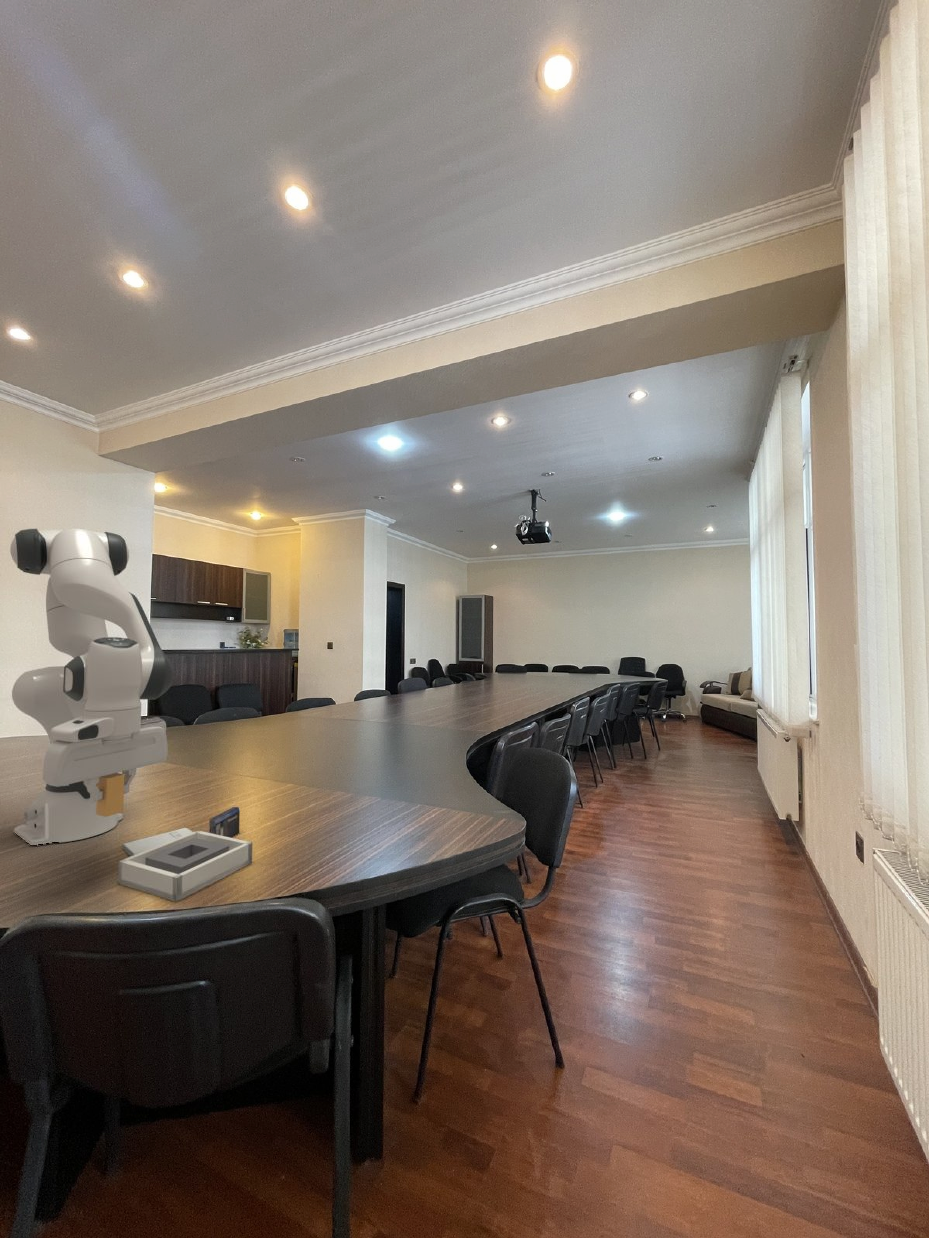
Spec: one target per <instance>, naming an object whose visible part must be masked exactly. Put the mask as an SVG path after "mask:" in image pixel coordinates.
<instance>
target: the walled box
mask: <svg viewBox="0 0 929 1238" xmlns="http://www.w3.org/2000/svg"><path fill="white" fill-rule="evenodd" d="M250 864H251V865H252V864H253V842H252V841H248V840H244V839H238V838H235V837H232V838H230V837H225V836H221V835H216V834H212V833H209V832H207V831H201V830H195V831H192V833H190V834H187V835H185V836H182V837H180V838H177V839H174V840H172V841H169V842H167V843H164V844H162V845H159V846H157V847H154V848H152V849H149V850H146V851H144V852H141V853H139V854H136V855H134V856H129V857H126V858H124V859H120V860H118V868H117V869H118V871H117V872H118V873H117V874H118V875H117V877H118V878H117V884H118V885H121V886H124V887H126V888H127V887H128V888H131V889H134V890H137V891H139V892H140V891H141V892H143V893H147V894H149V895H153V896H156V897H159V898H163V899H166V900H169V901H171V902H175V903H177V902H179V901H181V900H183V899H185V898H187V897H188V896H191V895H193V894H195V893H197V892H198V891H200V890H202V889H204V888H207V887H208V886H210V885H213V884H214V883H216V882H217V881H220V880H222V879H224V878H226V877H227V876H229V875H232V874H233V873H236V872H238V871H239V870H241V869H243V868H245V867H247V866H249V865H250Z"/></svg>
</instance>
